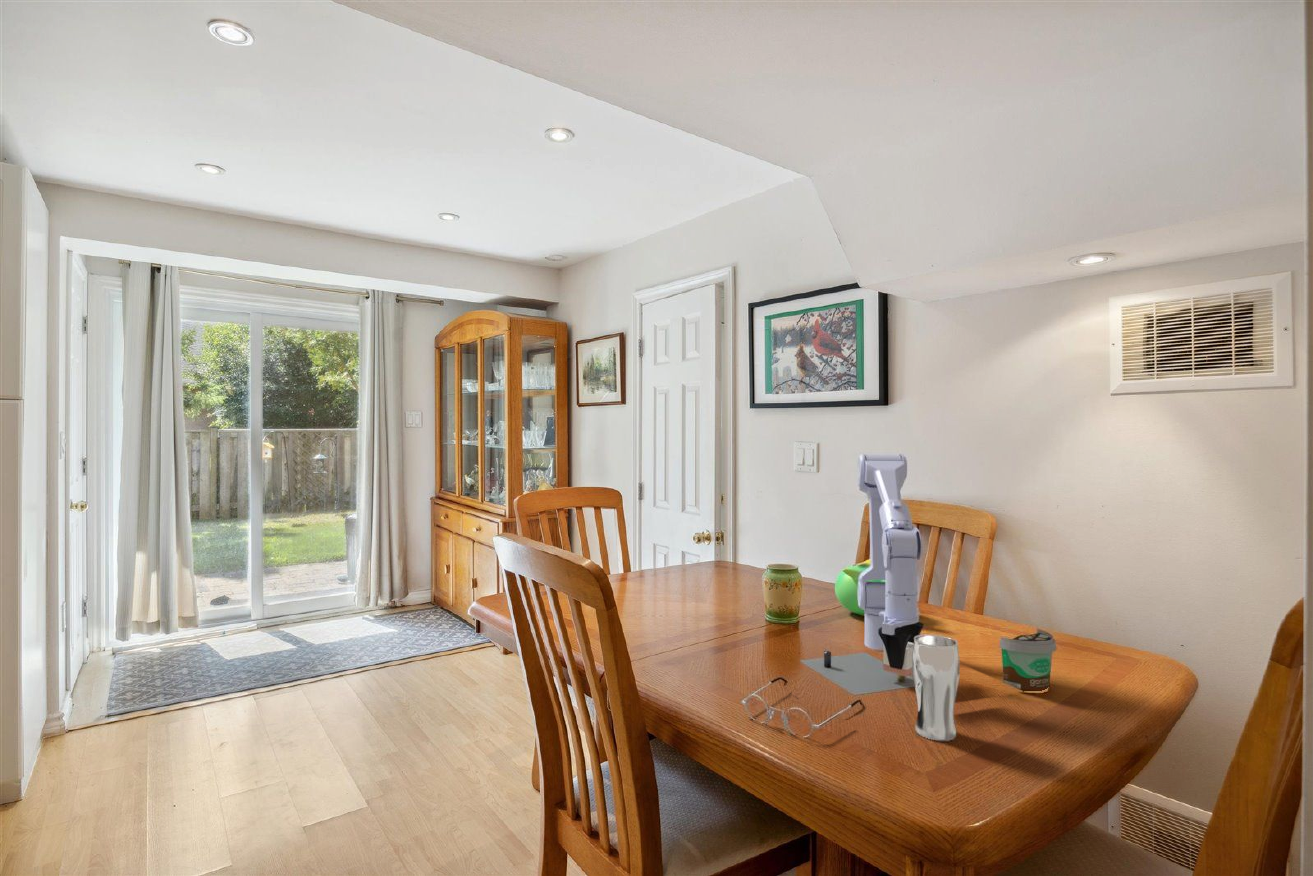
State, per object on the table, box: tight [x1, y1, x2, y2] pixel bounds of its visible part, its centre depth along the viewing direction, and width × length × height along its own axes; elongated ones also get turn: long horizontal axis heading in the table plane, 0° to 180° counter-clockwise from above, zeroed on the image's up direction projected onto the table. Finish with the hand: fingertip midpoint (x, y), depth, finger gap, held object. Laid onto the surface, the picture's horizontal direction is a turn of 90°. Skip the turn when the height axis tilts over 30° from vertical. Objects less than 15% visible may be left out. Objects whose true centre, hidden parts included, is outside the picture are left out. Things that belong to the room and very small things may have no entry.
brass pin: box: [897, 674, 905, 682], centre depth 123 cm, size 1×1×3 cm
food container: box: [998, 628, 1057, 692], centre depth 123 cm, size 12×6×10 cm, turn 117°
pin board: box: [798, 652, 915, 696], centre depth 128 cm, size 16×19×2 cm
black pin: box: [823, 650, 832, 668], centre depth 131 cm, size 1×1×3 cm
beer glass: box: [912, 633, 960, 742], centre depth 105 cm, size 7×7×15 cm
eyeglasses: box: [741, 676, 862, 739], centre depth 112 cm, size 16×19×5 cm
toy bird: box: [834, 558, 885, 617], centre depth 174 cm, size 18×17×15 cm
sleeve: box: [882, 642, 914, 676], centre depth 123 cm, size 5×5×5 cm
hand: (901, 664), depth 123 cm, fingers closed on sleeve, 5 cm apart
